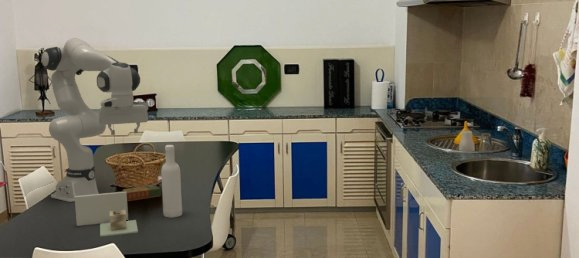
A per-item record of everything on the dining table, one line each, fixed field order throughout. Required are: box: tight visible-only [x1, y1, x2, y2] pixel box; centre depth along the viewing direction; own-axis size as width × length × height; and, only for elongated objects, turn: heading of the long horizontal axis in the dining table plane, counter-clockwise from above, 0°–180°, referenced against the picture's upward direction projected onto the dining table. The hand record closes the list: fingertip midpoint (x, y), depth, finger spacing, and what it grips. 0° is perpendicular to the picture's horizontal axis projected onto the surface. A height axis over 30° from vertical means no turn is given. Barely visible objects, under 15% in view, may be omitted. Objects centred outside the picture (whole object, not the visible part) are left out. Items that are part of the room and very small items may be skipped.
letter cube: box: [109, 210, 127, 231], centre depth 231 cm, size 6×6×6 cm
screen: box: [74, 191, 129, 227], centre depth 238 cm, size 20×2×12 cm, turn 108°
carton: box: [121, 184, 162, 202], centre depth 275 cm, size 8×16×4 cm, turn 120°
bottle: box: [160, 144, 183, 219], centre depth 245 cm, size 8×8×30 cm
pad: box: [99, 219, 139, 238], centre depth 231 cm, size 14×14×1 cm
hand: (124, 133), depth 248 cm, fingers open, 8 cm apart
